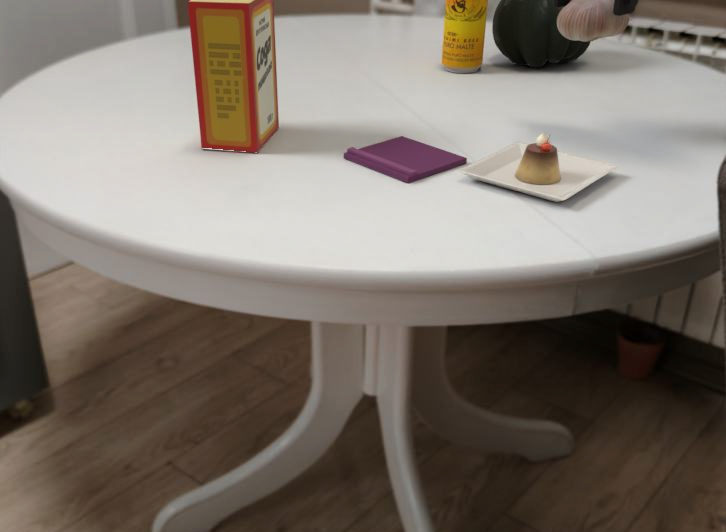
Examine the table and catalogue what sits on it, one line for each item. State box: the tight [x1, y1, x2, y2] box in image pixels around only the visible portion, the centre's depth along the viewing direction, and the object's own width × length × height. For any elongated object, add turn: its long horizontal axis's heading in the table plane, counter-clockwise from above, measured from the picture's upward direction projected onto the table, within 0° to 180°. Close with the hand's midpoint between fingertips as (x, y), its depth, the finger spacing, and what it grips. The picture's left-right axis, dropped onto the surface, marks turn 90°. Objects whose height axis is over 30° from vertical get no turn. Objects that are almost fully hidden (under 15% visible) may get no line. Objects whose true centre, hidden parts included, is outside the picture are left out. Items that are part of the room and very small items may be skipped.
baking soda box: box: [187, 0, 280, 153], centre depth 90 cm, size 10×6×16 cm
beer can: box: [441, 0, 489, 74], centre depth 118 cm, size 6×6×15 cm
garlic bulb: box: [557, 0, 630, 42], centre depth 87 cm, size 8×7×8 cm
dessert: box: [457, 132, 619, 203], centre depth 82 cm, size 12×12×5 cm
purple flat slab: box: [343, 135, 468, 184], centre depth 88 cm, size 10×9×1 cm
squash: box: [491, 0, 592, 68], centre depth 122 cm, size 14×15×15 cm
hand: (593, 8), depth 88 cm, fingers closed on garlic bulb, 6 cm apart
